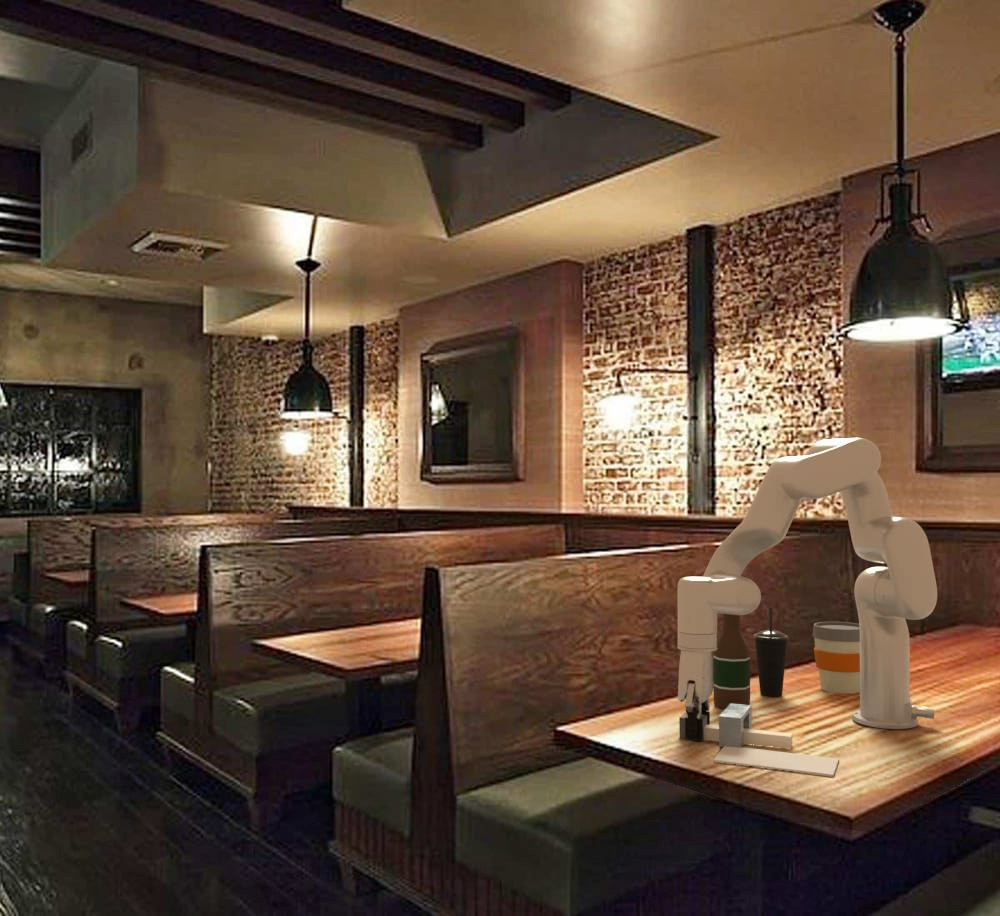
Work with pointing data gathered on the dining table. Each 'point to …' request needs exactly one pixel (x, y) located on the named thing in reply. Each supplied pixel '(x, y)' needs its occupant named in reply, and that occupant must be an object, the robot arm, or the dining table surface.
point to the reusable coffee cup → (838, 656)
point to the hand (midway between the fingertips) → (697, 734)
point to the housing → (734, 724)
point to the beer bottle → (731, 665)
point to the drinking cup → (771, 660)
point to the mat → (778, 760)
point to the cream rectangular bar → (748, 735)
